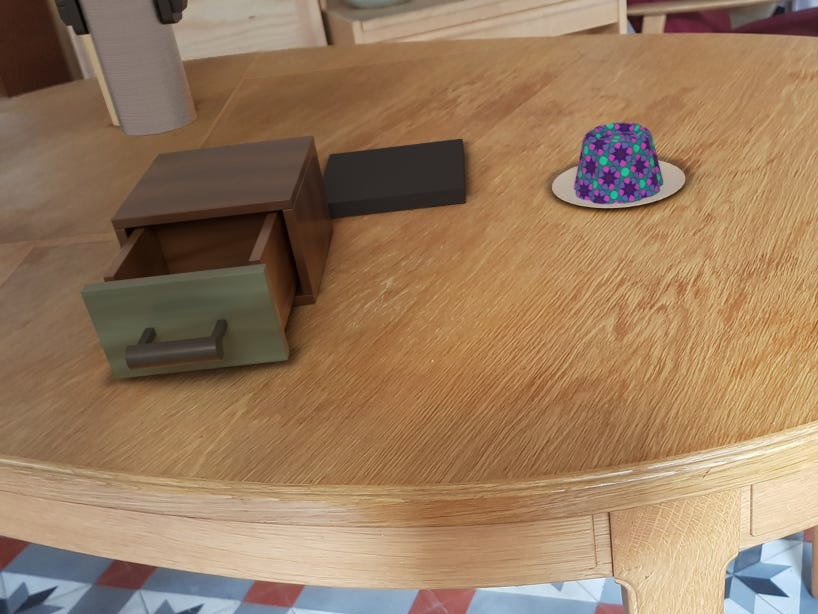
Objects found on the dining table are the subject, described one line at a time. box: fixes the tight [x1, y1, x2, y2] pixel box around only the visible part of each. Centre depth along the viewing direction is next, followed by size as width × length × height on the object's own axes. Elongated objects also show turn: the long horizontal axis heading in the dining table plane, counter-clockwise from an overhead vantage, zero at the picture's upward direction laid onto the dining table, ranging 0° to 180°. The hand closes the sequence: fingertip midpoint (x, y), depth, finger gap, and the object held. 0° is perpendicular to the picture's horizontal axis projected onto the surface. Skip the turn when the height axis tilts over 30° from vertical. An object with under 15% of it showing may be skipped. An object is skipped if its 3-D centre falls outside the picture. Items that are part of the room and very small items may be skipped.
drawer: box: [80, 210, 299, 380], centre depth 68 cm, size 18×12×7 cm
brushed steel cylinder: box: [78, 0, 198, 137], centre depth 60 cm, size 5×5×11 cm
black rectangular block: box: [322, 138, 467, 219], centre depth 93 cm, size 14×14×2 cm
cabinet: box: [110, 134, 334, 307], centre depth 78 cm, size 15×14×9 cm
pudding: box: [551, 122, 686, 209], centre depth 85 cm, size 12×12×5 cm
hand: (129, 25), depth 59 cm, fingers closed on brushed steel cylinder, 5 cm apart
